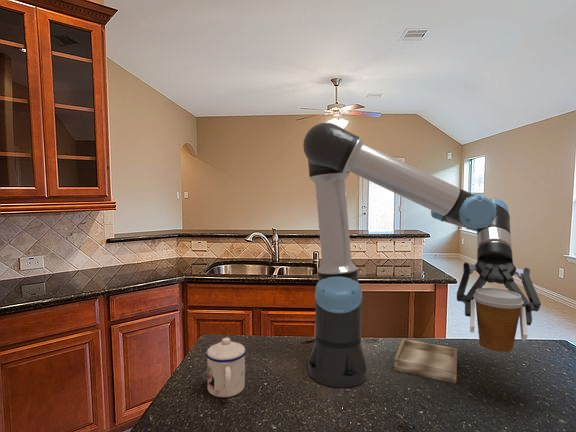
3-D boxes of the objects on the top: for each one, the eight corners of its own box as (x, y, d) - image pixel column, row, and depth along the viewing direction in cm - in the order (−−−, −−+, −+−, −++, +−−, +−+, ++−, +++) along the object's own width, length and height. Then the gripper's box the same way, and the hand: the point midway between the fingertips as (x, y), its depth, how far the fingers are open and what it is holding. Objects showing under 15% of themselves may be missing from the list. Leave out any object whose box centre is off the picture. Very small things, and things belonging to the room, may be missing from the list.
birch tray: (393, 370, 89) (393, 358, 88) (402, 348, 102) (402, 338, 101) (456, 384, 82) (456, 371, 82) (456, 359, 95) (457, 348, 95)
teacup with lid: (206, 380, 83) (206, 333, 83) (243, 375, 86) (243, 330, 85) (206, 409, 72) (206, 354, 71) (249, 403, 74) (249, 350, 73)
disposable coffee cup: (530, 358, 70) (532, 300, 69) (479, 353, 72) (481, 297, 71) (509, 339, 79) (512, 288, 79) (465, 335, 81) (467, 286, 81)
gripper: (543, 262, 84) (557, 351, 70) (447, 255, 93) (442, 332, 80) (549, 243, 79) (565, 335, 65) (447, 237, 88) (442, 316, 75)
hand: (497, 333), depth 73 cm, fingers closed on disposable coffee cup, 9 cm apart
